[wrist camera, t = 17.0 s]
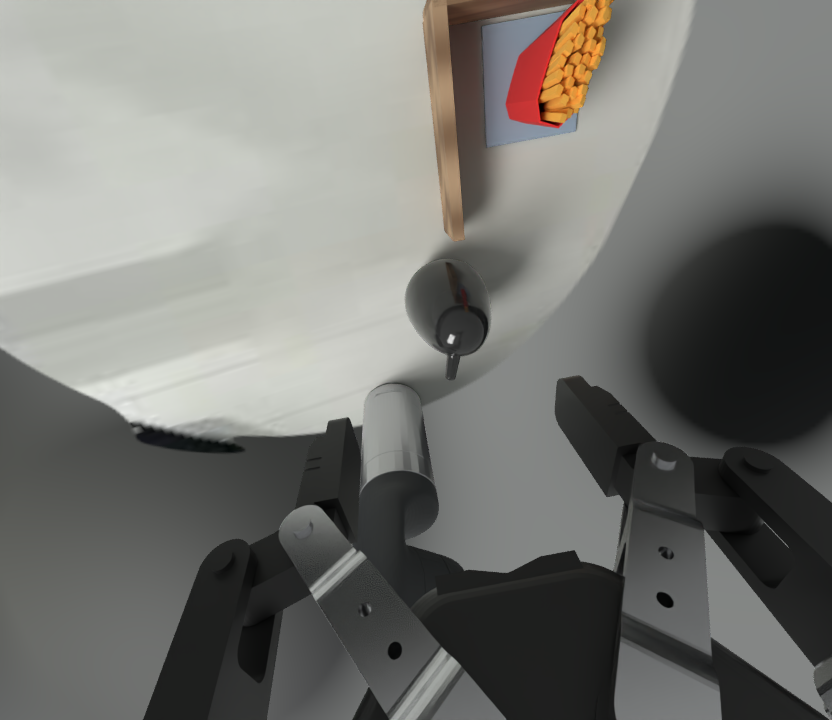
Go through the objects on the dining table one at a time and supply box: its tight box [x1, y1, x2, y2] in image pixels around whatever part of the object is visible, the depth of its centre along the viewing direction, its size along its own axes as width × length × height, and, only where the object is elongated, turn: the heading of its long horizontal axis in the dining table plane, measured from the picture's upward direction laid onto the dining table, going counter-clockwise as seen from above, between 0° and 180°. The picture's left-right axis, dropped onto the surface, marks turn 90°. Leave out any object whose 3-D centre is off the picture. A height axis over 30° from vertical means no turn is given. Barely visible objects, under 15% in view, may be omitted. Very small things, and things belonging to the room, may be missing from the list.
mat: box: [481, 11, 577, 148], centre depth 36 cm, size 10×10×1 cm
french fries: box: [505, 0, 614, 128], centre depth 30 cm, size 8×4×12 cm, turn 168°
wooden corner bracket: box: [423, 0, 577, 241], centre depth 35 cm, size 20×16×6 cm
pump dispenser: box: [405, 259, 491, 380], centre depth 40 cm, size 10×10×15 cm
